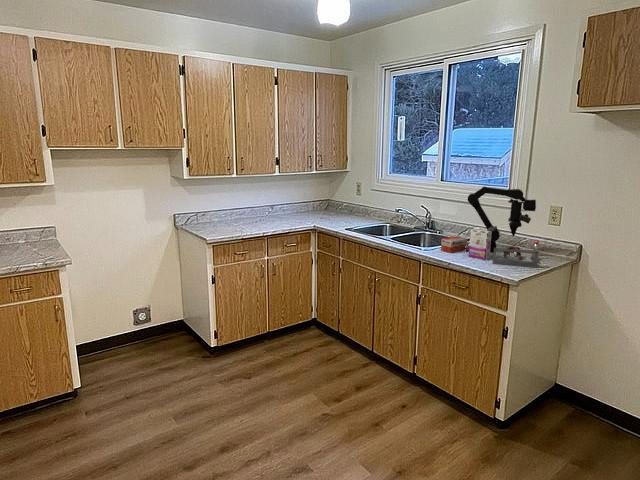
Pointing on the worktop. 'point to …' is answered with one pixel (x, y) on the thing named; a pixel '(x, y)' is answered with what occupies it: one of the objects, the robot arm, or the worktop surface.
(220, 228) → the worktop surface
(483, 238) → the candy bar box
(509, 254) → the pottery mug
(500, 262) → the press bed
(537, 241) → the handle
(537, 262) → the ram track
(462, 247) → the medicine box
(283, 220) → the worktop surface
